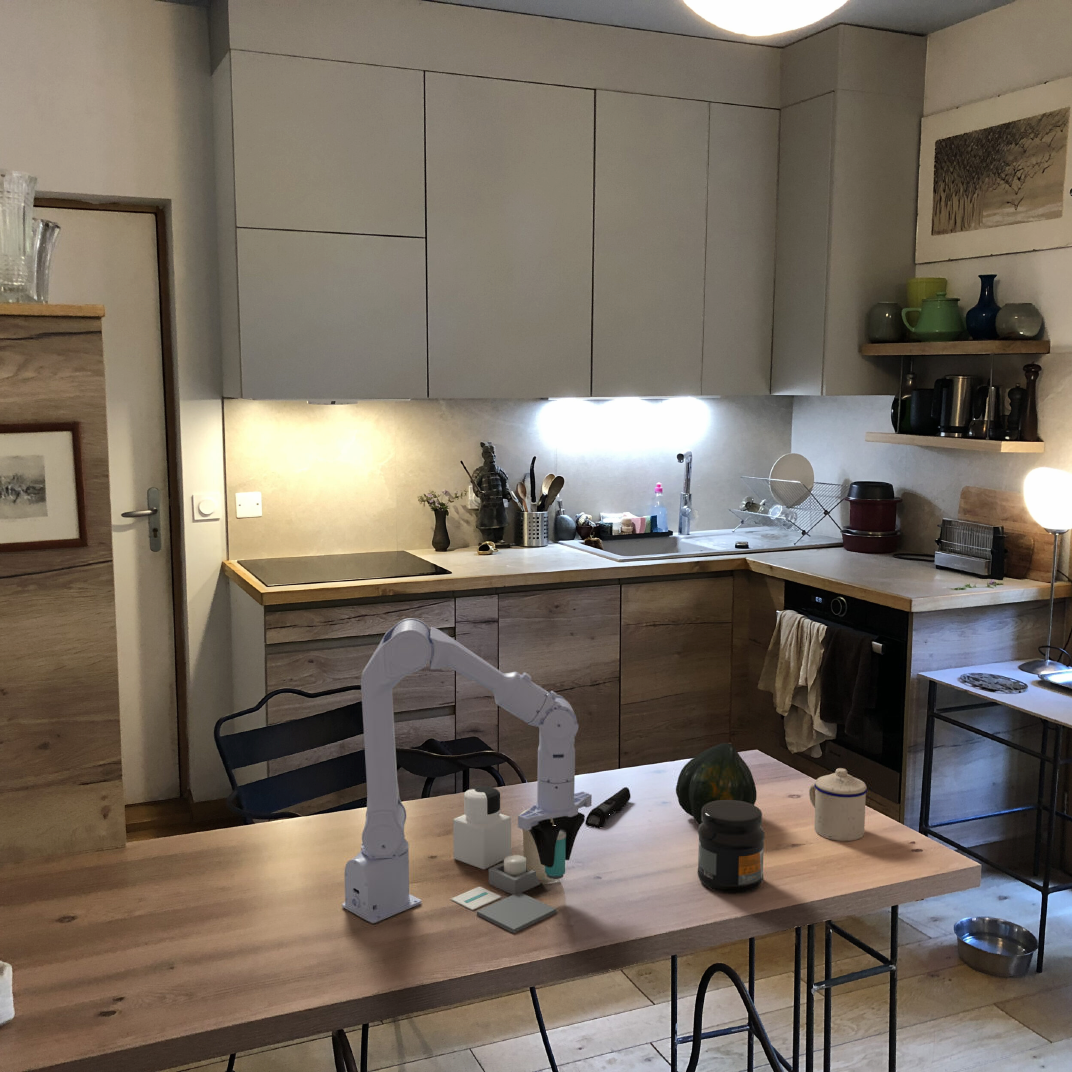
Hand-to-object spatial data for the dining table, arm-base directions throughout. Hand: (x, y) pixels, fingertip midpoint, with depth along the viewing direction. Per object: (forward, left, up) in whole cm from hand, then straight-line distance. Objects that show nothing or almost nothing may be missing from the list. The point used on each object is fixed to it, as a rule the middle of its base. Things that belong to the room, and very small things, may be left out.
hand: (555, 861), depth 167 cm
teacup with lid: (+55, -17, -6) cm, 58 cm away
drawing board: (-8, 0, -6) cm, 10 cm away
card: (-9, +8, -6) cm, 14 cm away
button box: (-1, +8, -6) cm, 10 cm away
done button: (-1, +8, -5) cm, 9 cm away
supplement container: (+24, -16, -6) cm, 30 cm away
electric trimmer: (+32, +17, -6) cm, 37 cm away
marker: (0, 0, -2) cm, 2 cm away
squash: (+44, +1, -6) cm, 45 cm away
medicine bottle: (+2, +19, -6) cm, 20 cm away
